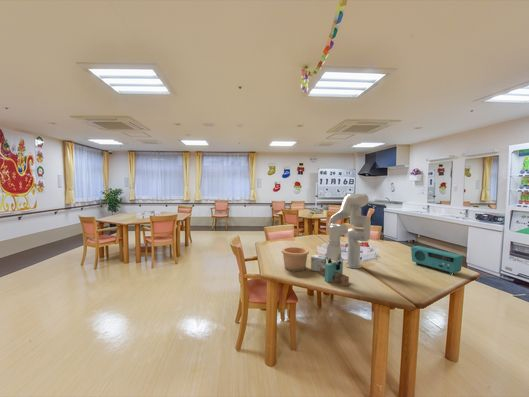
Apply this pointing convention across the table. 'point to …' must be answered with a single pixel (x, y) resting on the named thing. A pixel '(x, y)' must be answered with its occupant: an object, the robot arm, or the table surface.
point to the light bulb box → (317, 262)
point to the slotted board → (337, 277)
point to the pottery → (295, 258)
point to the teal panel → (332, 271)
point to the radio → (437, 258)
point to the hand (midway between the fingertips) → (333, 267)
